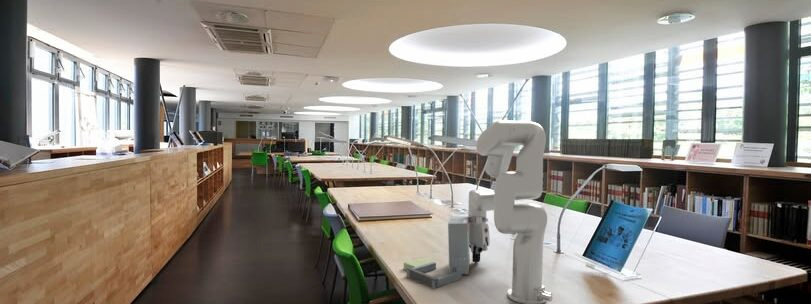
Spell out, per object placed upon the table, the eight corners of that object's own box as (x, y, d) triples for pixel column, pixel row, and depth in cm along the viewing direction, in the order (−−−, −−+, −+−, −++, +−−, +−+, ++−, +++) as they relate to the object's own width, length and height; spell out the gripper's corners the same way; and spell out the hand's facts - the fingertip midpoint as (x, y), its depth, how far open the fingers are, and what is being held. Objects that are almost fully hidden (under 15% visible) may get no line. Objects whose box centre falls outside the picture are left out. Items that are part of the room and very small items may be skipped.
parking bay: (461, 278, 144) (461, 270, 144) (434, 288, 135) (435, 279, 134) (433, 267, 155) (433, 260, 155) (406, 276, 146) (406, 268, 146)
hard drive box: (468, 275, 147) (467, 223, 146) (449, 274, 148) (447, 223, 148) (470, 262, 162) (468, 215, 161) (452, 261, 163) (450, 215, 163)
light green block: (433, 268, 155) (433, 261, 155) (415, 274, 149) (415, 267, 149) (421, 264, 161) (421, 257, 161) (403, 269, 154) (403, 262, 154)
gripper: (497, 221, 158) (496, 264, 159) (469, 215, 169) (468, 255, 170) (486, 223, 153) (485, 268, 154) (457, 217, 164) (457, 259, 165)
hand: (476, 261), depth 162 cm, fingers closed
